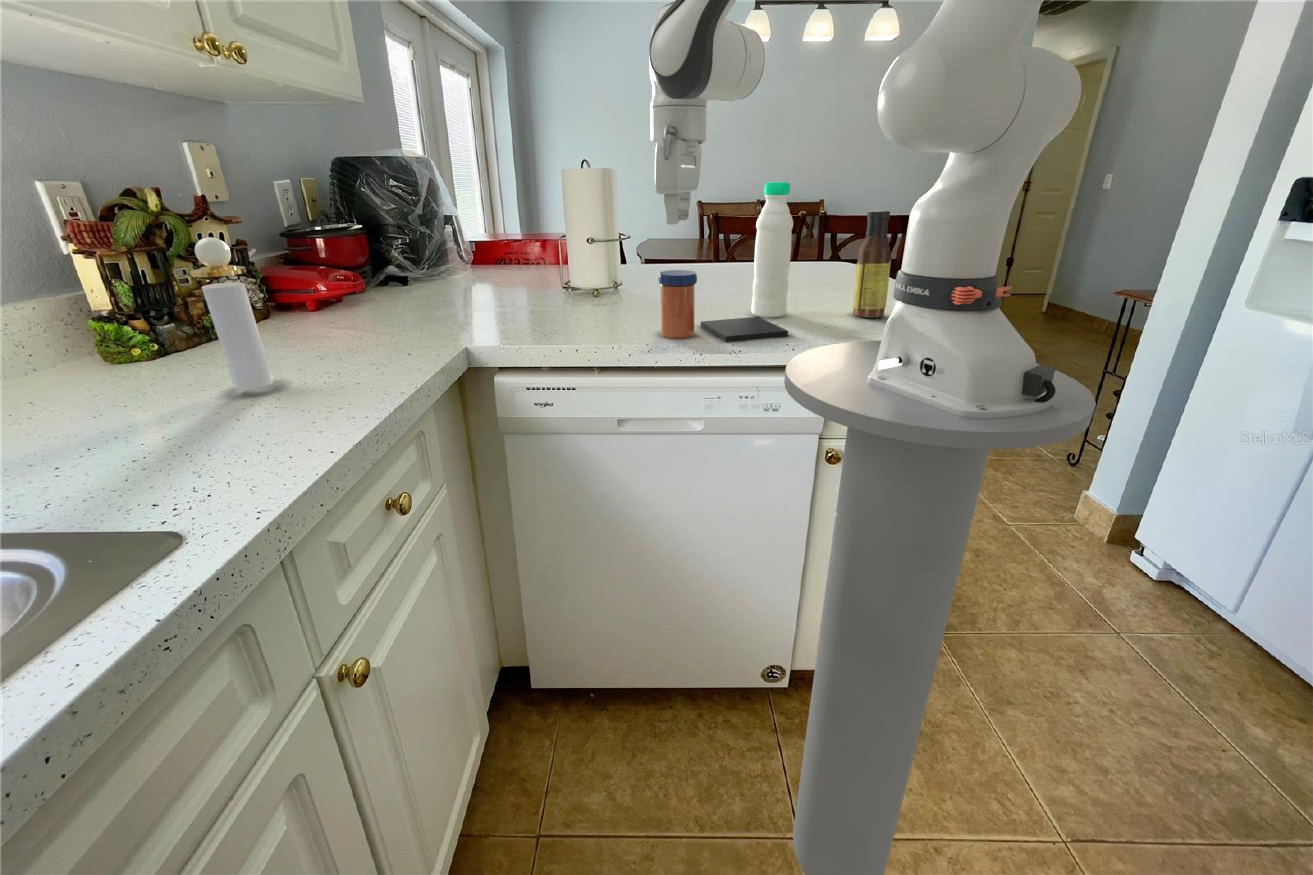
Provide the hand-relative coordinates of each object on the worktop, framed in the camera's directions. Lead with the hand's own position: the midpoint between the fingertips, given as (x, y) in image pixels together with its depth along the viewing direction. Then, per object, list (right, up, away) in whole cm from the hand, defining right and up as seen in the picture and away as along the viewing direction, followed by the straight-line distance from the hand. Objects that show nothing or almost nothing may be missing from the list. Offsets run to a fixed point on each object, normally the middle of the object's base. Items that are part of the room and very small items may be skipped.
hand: (678, 222), depth 98 cm
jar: (0, -17, +8) cm, 19 cm away
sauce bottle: (+39, -12, +20) cm, 45 cm away
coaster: (+12, -17, +9) cm, 23 cm away
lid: (0, -8, +4) cm, 9 cm away
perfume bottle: (-59, -30, -17) cm, 68 cm away
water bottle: (+19, -11, +22) cm, 31 cm away
